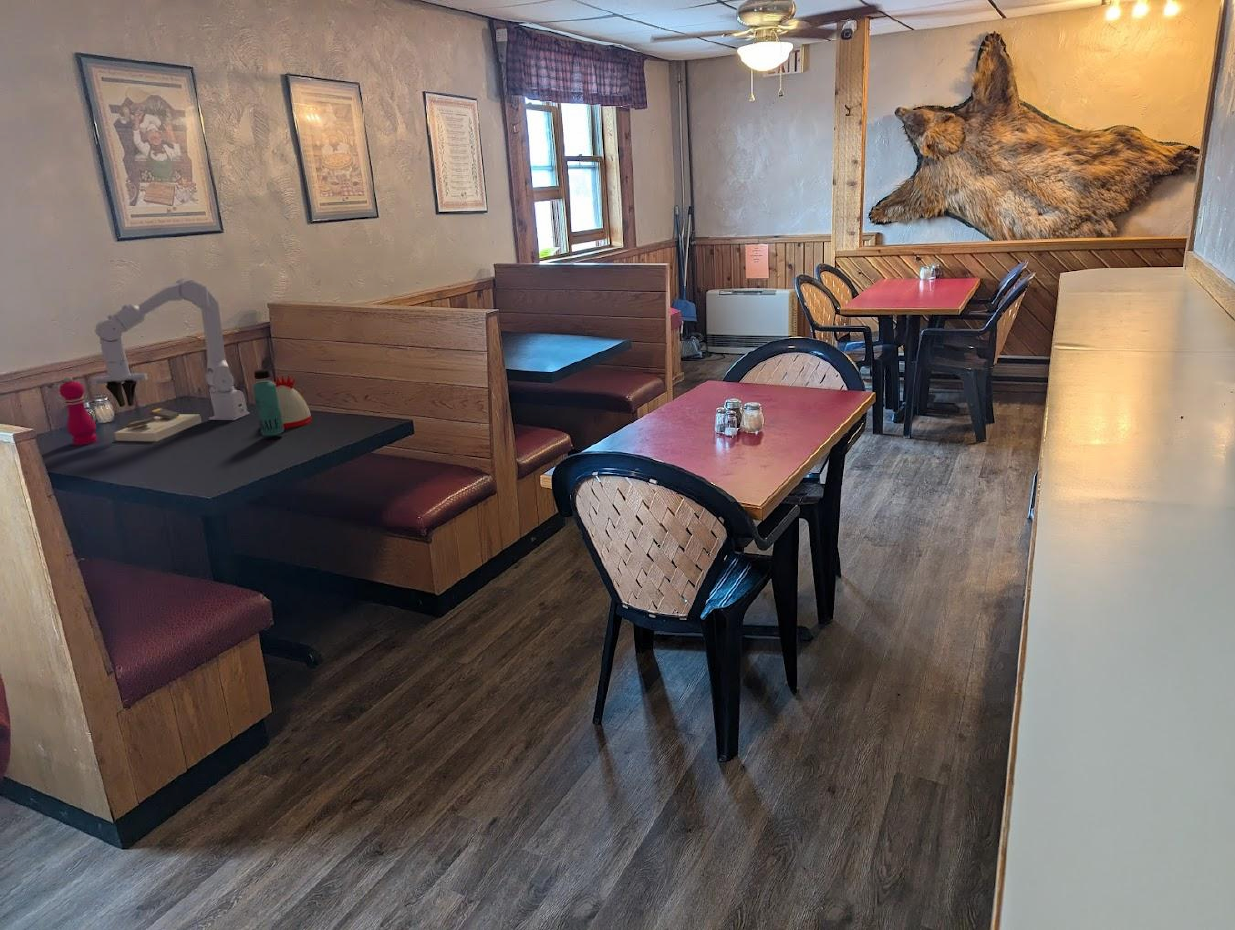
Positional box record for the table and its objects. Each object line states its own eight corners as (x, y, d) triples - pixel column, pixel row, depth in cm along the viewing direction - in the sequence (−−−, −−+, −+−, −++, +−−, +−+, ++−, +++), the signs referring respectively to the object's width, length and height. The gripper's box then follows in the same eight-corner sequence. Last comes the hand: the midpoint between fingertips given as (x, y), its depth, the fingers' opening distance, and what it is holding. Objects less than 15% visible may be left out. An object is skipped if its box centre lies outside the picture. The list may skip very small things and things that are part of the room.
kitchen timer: (311, 425, 259) (302, 377, 254) (262, 431, 255) (253, 382, 251) (311, 414, 272) (303, 368, 267) (265, 420, 268) (256, 373, 263)
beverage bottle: (278, 432, 253) (265, 366, 247) (290, 436, 249) (277, 368, 243) (257, 438, 248) (244, 371, 242) (269, 441, 244) (256, 373, 238)
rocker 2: (178, 415, 267) (178, 412, 266) (170, 419, 263) (169, 416, 263) (159, 411, 268) (158, 407, 267) (149, 414, 264) (149, 411, 264)
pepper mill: (86, 446, 250) (68, 379, 243) (65, 445, 251) (47, 379, 245) (105, 438, 257) (88, 373, 250) (84, 438, 258) (67, 373, 252)
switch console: (201, 422, 269) (199, 412, 268) (156, 441, 251) (154, 431, 250) (163, 421, 272) (161, 412, 271) (116, 440, 254) (113, 430, 253)
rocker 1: (155, 420, 257) (154, 416, 257) (146, 424, 253) (144, 420, 253) (137, 424, 259) (135, 421, 259) (127, 428, 255) (126, 425, 255)
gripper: (147, 356, 255) (157, 400, 260) (95, 360, 253) (106, 404, 258) (138, 361, 249) (148, 406, 253) (85, 365, 247) (96, 410, 251)
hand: (126, 405), depth 255 cm, fingers closed
